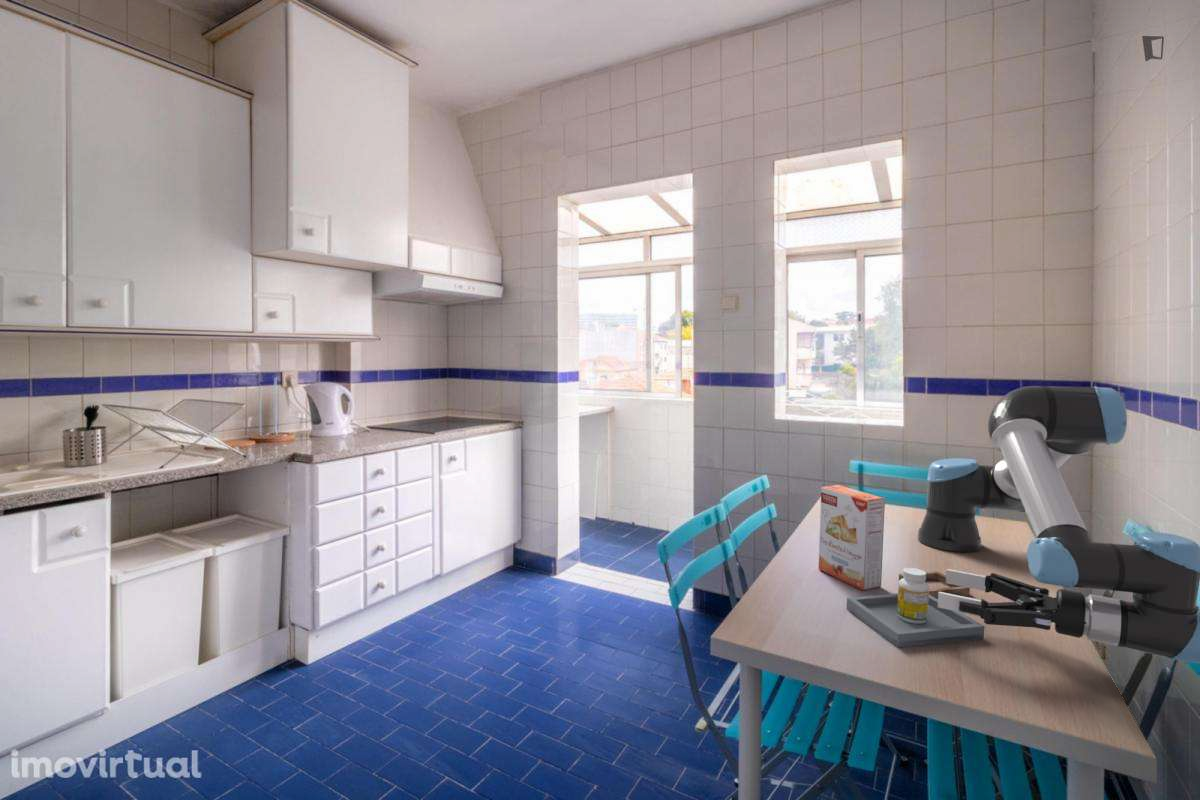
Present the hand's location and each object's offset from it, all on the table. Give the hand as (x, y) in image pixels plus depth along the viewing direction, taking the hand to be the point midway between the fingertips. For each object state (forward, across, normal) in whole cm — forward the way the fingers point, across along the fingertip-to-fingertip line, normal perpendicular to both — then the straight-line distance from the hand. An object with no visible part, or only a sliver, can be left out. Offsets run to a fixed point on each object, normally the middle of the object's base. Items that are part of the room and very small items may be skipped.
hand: (942, 587), depth 115 cm
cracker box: (+21, +17, -9) cm, 28 cm away
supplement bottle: (+5, 0, -8) cm, 9 cm away
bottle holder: (+4, +23, -9) cm, 25 cm away
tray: (+5, 0, -9) cm, 10 cm away
